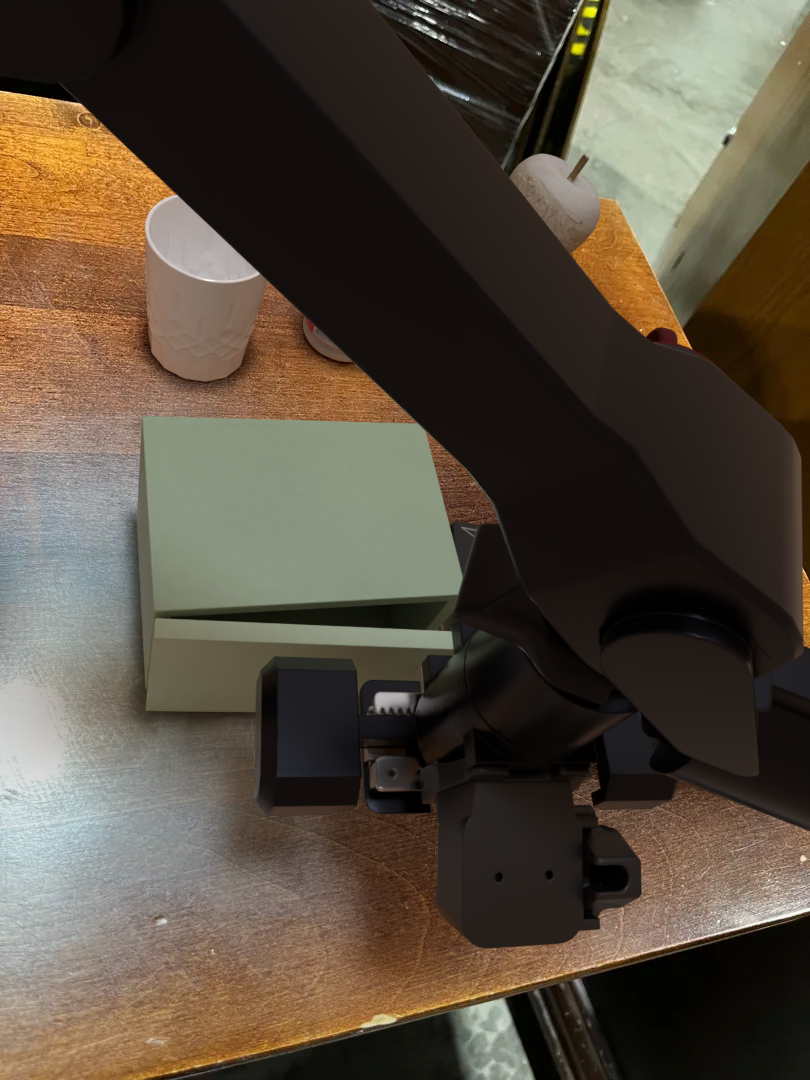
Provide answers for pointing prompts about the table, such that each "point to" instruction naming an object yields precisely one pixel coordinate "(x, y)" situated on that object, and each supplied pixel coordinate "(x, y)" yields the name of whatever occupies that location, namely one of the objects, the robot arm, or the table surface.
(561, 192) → the decorative object
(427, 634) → the door
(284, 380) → the table surface
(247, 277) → the white cup
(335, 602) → the cupboard
